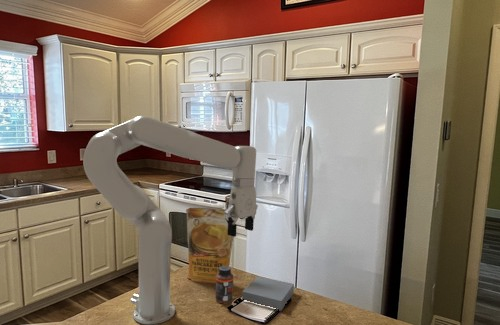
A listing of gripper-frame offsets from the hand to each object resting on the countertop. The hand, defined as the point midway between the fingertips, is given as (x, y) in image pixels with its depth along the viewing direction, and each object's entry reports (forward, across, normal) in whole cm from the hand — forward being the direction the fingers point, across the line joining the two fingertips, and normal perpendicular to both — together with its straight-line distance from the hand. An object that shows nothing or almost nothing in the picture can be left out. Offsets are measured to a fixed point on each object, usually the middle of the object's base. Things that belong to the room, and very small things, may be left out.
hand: (240, 232), depth 114 cm
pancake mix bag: (+24, +6, +18) cm, 31 cm away
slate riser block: (+23, +9, -8) cm, 26 cm away
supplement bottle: (+24, -3, +4) cm, 25 cm away
